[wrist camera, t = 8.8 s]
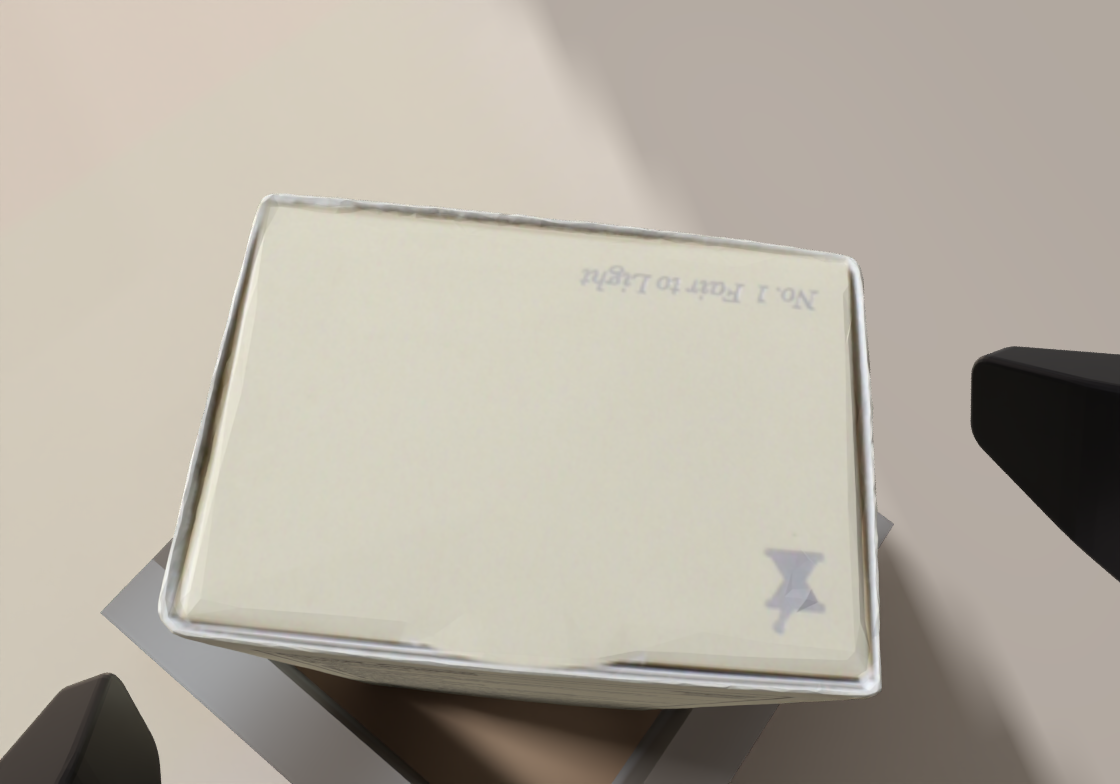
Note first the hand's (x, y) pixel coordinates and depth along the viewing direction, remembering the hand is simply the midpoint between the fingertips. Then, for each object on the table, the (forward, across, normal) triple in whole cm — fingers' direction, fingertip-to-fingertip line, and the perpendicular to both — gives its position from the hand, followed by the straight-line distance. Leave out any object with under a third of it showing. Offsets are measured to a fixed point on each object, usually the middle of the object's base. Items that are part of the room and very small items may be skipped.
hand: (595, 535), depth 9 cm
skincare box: (+9, 0, +7) cm, 11 cm away
